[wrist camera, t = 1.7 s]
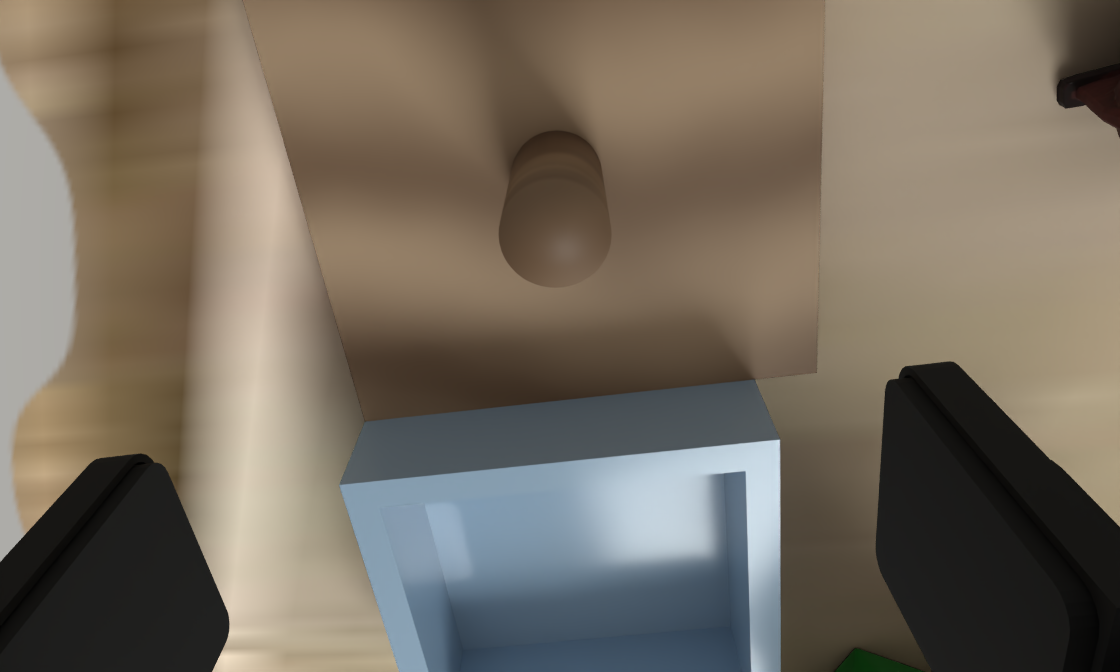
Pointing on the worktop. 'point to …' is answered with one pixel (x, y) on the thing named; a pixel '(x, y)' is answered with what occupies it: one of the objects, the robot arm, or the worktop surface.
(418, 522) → the dish
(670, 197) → the lid
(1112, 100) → the mate gourd
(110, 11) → the worktop surface
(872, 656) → the milk carton
